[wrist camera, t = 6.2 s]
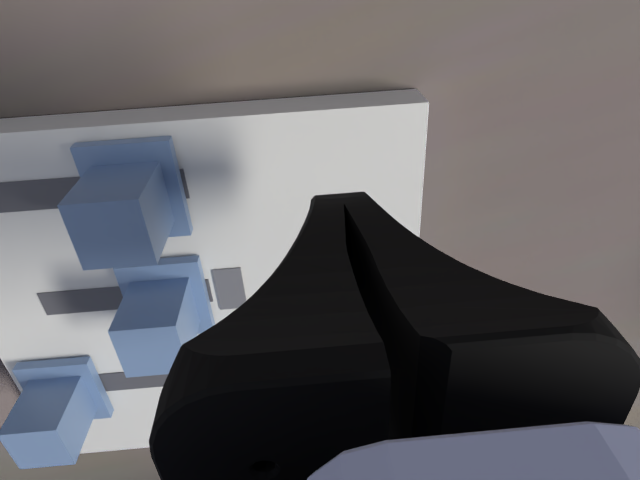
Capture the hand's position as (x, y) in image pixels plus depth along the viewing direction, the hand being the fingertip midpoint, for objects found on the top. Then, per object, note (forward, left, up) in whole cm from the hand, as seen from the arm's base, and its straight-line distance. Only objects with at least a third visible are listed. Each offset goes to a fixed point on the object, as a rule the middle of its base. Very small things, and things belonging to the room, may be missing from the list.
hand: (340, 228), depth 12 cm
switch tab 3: (-4, +6, -3) cm, 8 cm away
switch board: (-6, +5, -5) cm, 9 cm away
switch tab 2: (0, +6, -3) cm, 7 cm away
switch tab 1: (-9, +11, -3) cm, 14 cm away
